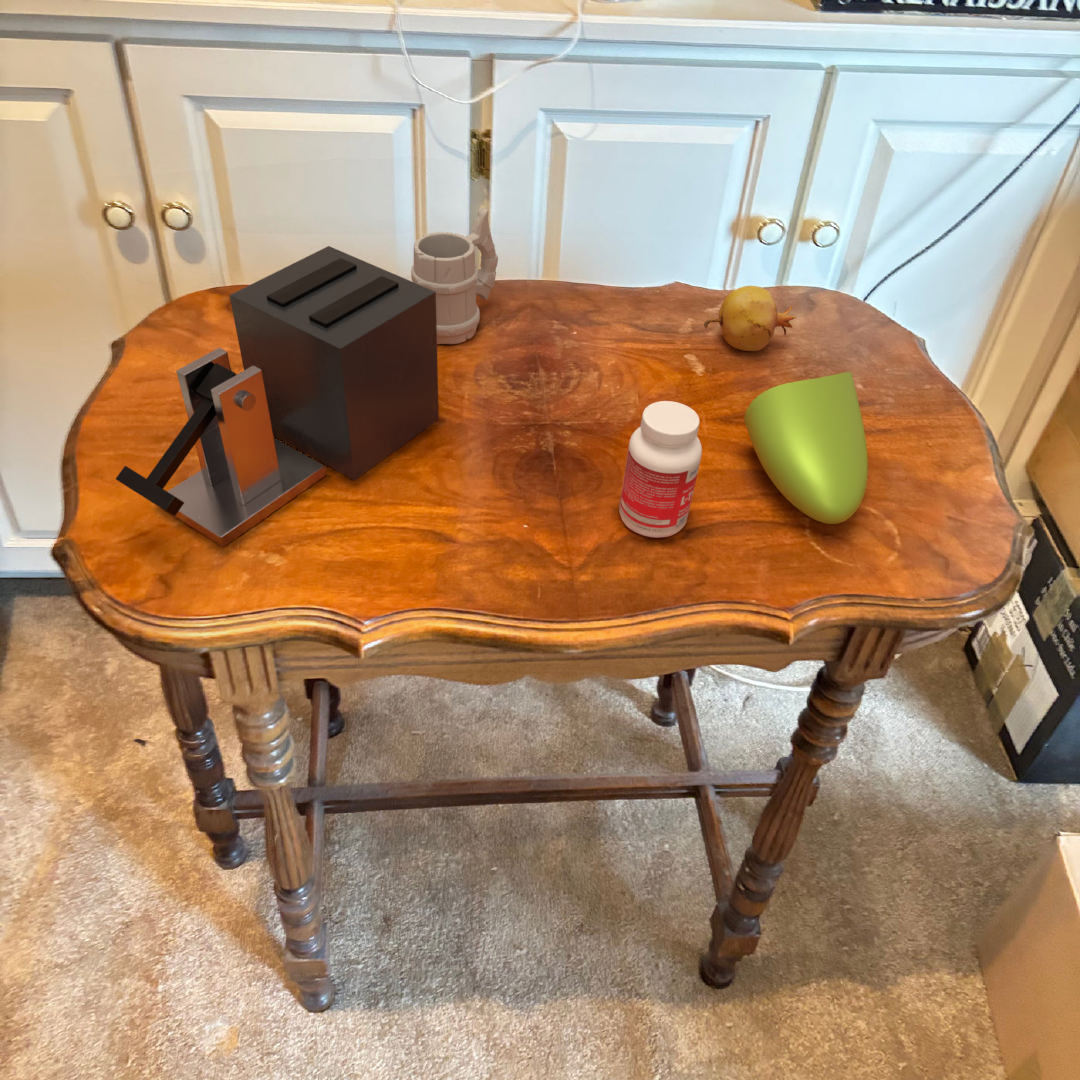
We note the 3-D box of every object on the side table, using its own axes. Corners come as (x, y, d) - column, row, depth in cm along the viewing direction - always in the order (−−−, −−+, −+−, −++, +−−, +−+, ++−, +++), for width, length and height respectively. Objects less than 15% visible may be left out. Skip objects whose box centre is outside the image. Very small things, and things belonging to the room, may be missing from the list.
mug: (396, 327, 104) (390, 225, 96) (469, 290, 111) (470, 191, 102) (445, 355, 101) (444, 251, 92) (517, 314, 107) (522, 214, 99)
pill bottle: (685, 545, 82) (707, 445, 74) (615, 534, 82) (630, 434, 74) (688, 499, 86) (709, 400, 78) (621, 489, 86) (637, 390, 79)
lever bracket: (223, 547, 78) (192, 424, 69) (160, 507, 81) (122, 384, 72) (326, 475, 85) (310, 355, 77) (264, 441, 89) (242, 322, 80)
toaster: (354, 480, 85) (339, 344, 75) (254, 425, 90) (228, 290, 80) (438, 419, 92) (435, 287, 82) (342, 371, 97) (328, 241, 87)
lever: (179, 519, 74) (160, 507, 72) (129, 487, 76) (110, 476, 74) (266, 395, 76) (251, 381, 74) (216, 368, 78) (199, 353, 76)
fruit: (713, 315, 99) (807, 318, 99) (707, 269, 102) (798, 272, 103) (701, 360, 105) (790, 362, 105) (696, 315, 108) (782, 317, 108)
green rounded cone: (751, 330, 90) (794, 477, 77) (865, 354, 92) (926, 500, 79) (719, 392, 96) (755, 538, 82) (828, 413, 98) (879, 558, 85)
